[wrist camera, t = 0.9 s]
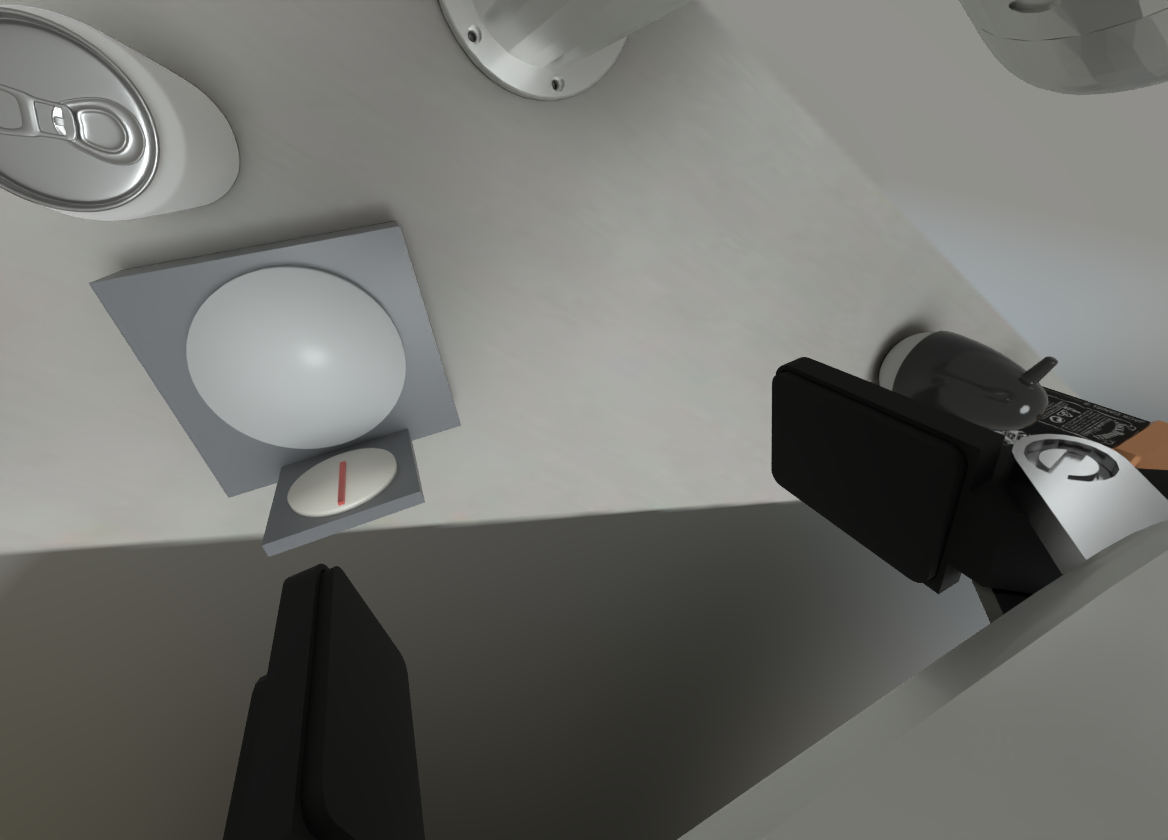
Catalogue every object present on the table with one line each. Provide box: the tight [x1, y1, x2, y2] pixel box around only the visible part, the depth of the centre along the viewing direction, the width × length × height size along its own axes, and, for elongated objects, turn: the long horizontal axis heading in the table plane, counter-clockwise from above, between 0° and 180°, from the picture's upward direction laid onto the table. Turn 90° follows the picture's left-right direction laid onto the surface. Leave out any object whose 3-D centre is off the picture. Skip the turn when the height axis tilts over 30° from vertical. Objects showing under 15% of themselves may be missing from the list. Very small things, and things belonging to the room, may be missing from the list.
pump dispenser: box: [879, 331, 1058, 431], centre depth 52 cm, size 10×10×15 cm
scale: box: [89, 221, 461, 557], centre depth 27 cm, size 14×15×12 cm
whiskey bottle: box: [995, 386, 1168, 470], centre depth 55 cm, size 10×10×32 cm
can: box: [0, 5, 239, 221], centre depth 20 cm, size 6×6×12 cm
